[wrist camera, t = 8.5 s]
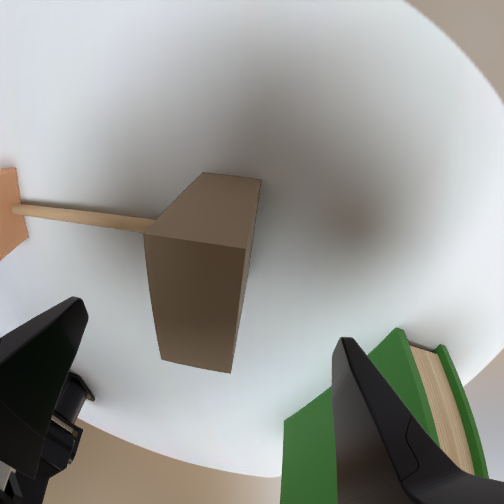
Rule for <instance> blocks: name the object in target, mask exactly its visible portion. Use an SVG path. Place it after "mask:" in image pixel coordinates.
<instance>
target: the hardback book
mask: <svg viewBox="0 0 504 504" xmlns="http://www.w3.org/2000/svg"><path fill="white" fill-rule="evenodd" d="M367 356H368V357H369V359H370V360H371V361H372V362H373V364H374V365H375V366H376V367H377V369H378V370H379V371H380V373H381V374H382V375H383V376H384V378H385V379H386V380H387V382H388V383H389V384H390V385H391V387H392V388H393V389H394V391H395V392H396V393H397V395H398V396H399V397H400V399H401V400H402V401H403V402H404V404H405V405H406V406H407V408H408V409H409V410H410V412H411V413H412V414H411V415H413V416H414V417H415V418H416V420H417V421H418V422H419V424H420V425H421V426H422V427H423V429H424V430H425V431H426V432H427V434H428V435H429V436H430V437H431V438H432V439H433V440H434V442H435V443H436V444H437V445H438V446H439V447H440V448H441V449H442V450H443V451H444V452H445V453H446V455H447V456H448V457H449V458H450V459H451V460H452V461H453V462H454V463H455V464H456V465H457V466H458V467H459V468H460V469H462V470H463V471H465V472H467V473H469V474H473V475H476V476H480V477H484V478H488V479H489V476H488V471H487V467H486V462H485V457H484V453H483V449H482V445H481V441H480V437H479V434H478V430H477V427H476V424H475V421H474V417H473V414H472V411H471V409H470V406H469V402H468V400H467V397H466V394H465V391H464V389H463V386H462V384H461V381H460V379H459V376H458V374H457V371H456V369H455V366H454V364H453V362H452V360H451V357H450V355H449V353H448V351H447V348H446V346H444V345H441V344H440V345H439V346H438V347H437V348H436V349H435V350H434V351H433V352H429V351H426V350H423V349H420V348H416V347H413V346H411V345H409V343H408V340H407V338H406V335H405V333H404V330H401V329H399V328H395V329H394V330H393V331H392V332H391V333H390V334H389V335H388V336H387V337H386V338H385V339H384V340H383V341H382V342H381V343H380V344H379V345H378V346H377V347H376V348H375V349H374V350H373V351H371V352H370V353H369V354H368V355H367ZM280 504H337V469H336V450H335V435H334V422H333V411H332V386H331V387H330V388H329V389H327V390H326V391H325V392H324V393H322V394H321V395H320V396H318V397H317V398H316V399H314V400H313V401H312V402H310V403H309V404H308V405H306V406H305V407H303V408H302V409H301V410H299V411H298V412H296V413H295V414H294V415H292V416H291V417H289V418H288V419H286V420H285V421H284V440H283V462H282V480H281V497H280Z"/></svg>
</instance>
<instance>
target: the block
mask: <svg viewBox="0 0 504 504" xmlns="http://www.w3.org/2000/svg"><path fill="white" fill-rule="evenodd" d="M260 185H261V180H259V179H252V178H245V177H237V176H229V175H221V174H212V173H202V174H201V175H200V176H199V177H198V178H197V179H196V180H195V181H194V182H193V183H192V184H191V185H190V186H188V187H187V188H186V189H185V190H184V191H183V192H182V193H181V194H180V195H179V196H178V197H177V199H176V200H175V201H174V202H173V203H172V204H171V205H170V206H169V207H168V208H167V209H166V210H165V211H164V212H163V213H162V214H161V215H160V216H159V217H158V218H157V219H156V220H155V219H147V218H139V217H131V216H123V215H115V214H107V213H98V212H90V211H81V210H72V209H63V208H53V207H44V206H34V205H24V204H21V199H20V193H19V186H18V179H17V171H16V168H7V169H0V261H1V260H2V259H3V258H4V257H5V256H6V255H7V254H9V253H10V252H11V251H12V250H13V249H14V248H16V247H17V246H18V245H19V244H20V243H22V242H23V241H24V240H25V239H27V238H28V237H29V236H28V232H27V228H26V223H25V219H24V216H31V217H38V218H45V219H52V220H59V221H66V222H73V223H80V224H87V225H94V226H101V227H108V228H115V229H121V230H128V231H135V232H142V233H144V246H145V257H146V266H147V275H148V283H149V291H150V298H151V304H152V311H153V317H154V323H155V329H156V334H157V340H158V345H159V350H160V355H161V359H162V360H166V361H170V362H174V363H178V364H183V365H187V366H192V367H197V368H202V369H207V370H213V371H218V372H224V373H230V374H231V369H232V363H233V357H234V352H235V346H236V340H237V335H238V329H239V323H240V317H241V312H242V306H243V300H244V295H245V289H246V283H247V277H248V270H249V263H250V256H251V249H252V242H253V235H254V227H255V220H256V213H257V206H258V199H259V192H260Z"/></svg>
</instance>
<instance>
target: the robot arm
mask: <svg viewBox="0 0 504 504" xmlns="http://www.w3.org/2000/svg"><path fill="white" fill-rule="evenodd" d="M87 322H88V313H87V310H86V307H85V305H84V302H83V300H82V299H81V298H78V297H70V298H68V299H67V300H65V301H63V302H61V303H59V304H58V305H56V306H54V307H52V308H50V309H49V310H47V311H45V312H43V313H42V314H40V315H38V316H36V317H35V318H33V319H31V320H29V321H28V322H26V323H24V324H23V325H21V326H19V327H18V328H16V329H14V330H13V331H11V332H9V333H8V334H6V335H4V336H3V337H1V338H0V504H42V502H43V498H44V495H45V491H46V487H47V484H48V480H49V478H50V477H52V476H54V475H56V474H57V473H59V472H61V471H62V470H64V469H65V468H66V467H67V464H71V462H72V461H73V459H74V457H75V454H76V451H77V448H78V444H79V441H80V438H81V435H82V432H83V429H81V428H79V427H77V426H76V425H74V423H75V420H76V419H77V416H78V414H79V412H80V410H81V408H82V406H83V404H84V401H85V399H88V400H91V401H93V402H94V401H95V398H94V397H93V395H92V394H91V393H90V391H89V390H88V389H87V387H86V386H85V384H84V383H83V381H82V380H81V379H80V378H79V377H78V376H76V375H74V374H71V373H69V370H70V368H71V365H72V363H73V361H74V358H75V356H76V353H77V351H78V348H79V345H80V342H81V339H82V336H83V333H84V330H85V328H86V325H87ZM332 411H333V422H334V435H335V450H336V469H337V504H504V482H501V481H497V480H492V479H488V478H484V477H480V476H476V475H473V474H469V473H467V472H465V471H463V470H462V469H460V468H459V467H458V466H457V465H456V464H455V463H454V462H453V461H452V460H451V459H450V458H449V457H448V456H447V455H446V453H445V452H444V451H443V450H442V449H441V448H440V447H439V446H438V445H437V444H436V443H435V442H434V440H433V439H432V438H431V437H430V436H429V435H428V434H427V432H426V431H425V430H424V429H423V427H422V426H421V425H420V424H419V422H418V421H417V420H416V418H415V417H414V416H413V415H411V414H412V413H411V412H410V410H409V409H408V408H407V406H406V405H405V404H404V402H403V401H402V400H401V399H400V397H399V396H398V395H397V393H396V392H395V391H394V389H393V388H392V387H391V385H390V384H389V383H388V382H387V380H386V379H385V378H384V376H383V375H382V374H381V373H380V371H379V370H378V369H377V367H376V366H375V365H374V364H373V362H372V361H371V360H370V359H369V357H368V356H367V355H366V353H365V352H364V351H363V350H362V348H361V347H360V346H359V345H358V343H357V342H356V341H355V340H354V339H353V338H351V337H341V338H340V339H339V341H338V343H337V345H336V347H335V350H334V352H333V355H332ZM51 418H52V419H53V420H55V421H56V422H57V423H59V424H60V425H62V426H63V427H65V428H66V429H68V430H70V431H71V432H72V433H71V432H69V431H68V430H66V429H64V428H63V427H61V426H60V425H58V424H57V423H55V422H54V421H52V420H51ZM12 468H14V469H15V472H14V473H13V472H12V471H11V470H12Z"/></svg>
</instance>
